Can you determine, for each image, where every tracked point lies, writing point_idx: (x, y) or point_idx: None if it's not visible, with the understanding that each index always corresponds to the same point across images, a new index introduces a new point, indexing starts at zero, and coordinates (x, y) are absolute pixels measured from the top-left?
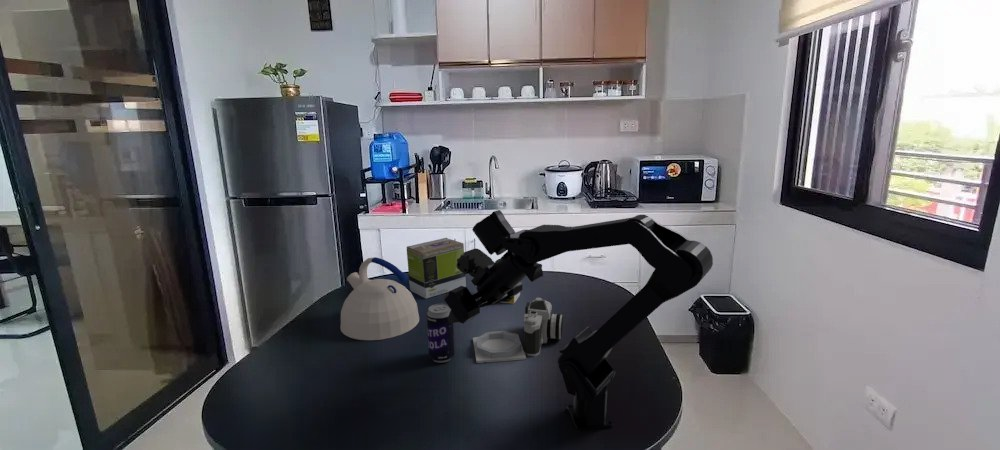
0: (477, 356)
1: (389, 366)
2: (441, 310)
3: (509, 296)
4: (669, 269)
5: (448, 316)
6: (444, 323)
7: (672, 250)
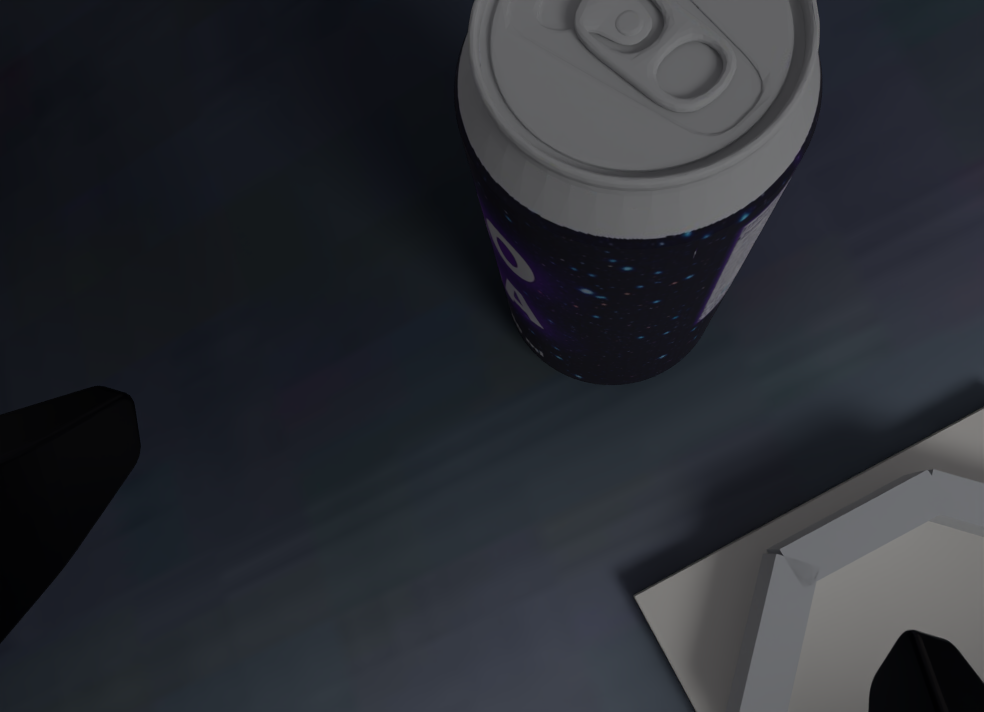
0: (704, 576)
1: (386, 33)
2: (592, 85)
3: None
4: None
5: (22, 410)
6: (518, 234)
7: None
